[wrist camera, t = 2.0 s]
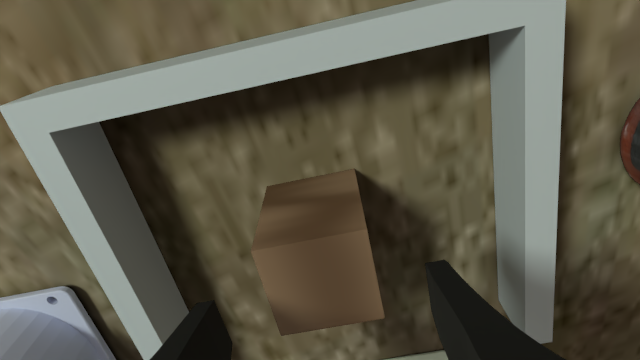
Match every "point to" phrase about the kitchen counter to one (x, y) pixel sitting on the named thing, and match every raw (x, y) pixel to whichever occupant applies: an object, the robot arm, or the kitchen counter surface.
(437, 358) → the mat
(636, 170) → the supplement bottle
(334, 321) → the block
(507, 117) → the u-shaped barrier
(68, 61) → the kitchen counter surface
